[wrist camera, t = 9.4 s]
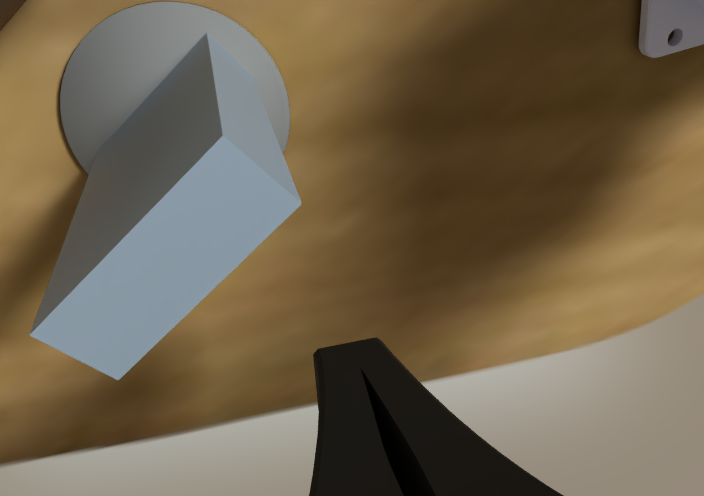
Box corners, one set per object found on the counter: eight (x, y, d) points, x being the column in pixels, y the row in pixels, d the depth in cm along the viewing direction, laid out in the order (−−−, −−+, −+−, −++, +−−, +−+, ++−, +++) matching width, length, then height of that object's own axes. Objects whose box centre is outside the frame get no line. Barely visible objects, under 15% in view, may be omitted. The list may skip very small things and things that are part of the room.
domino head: (253, 76, 15) (301, 204, 9) (146, 187, 16) (118, 380, 10) (207, 32, 15) (222, 135, 8) (97, 151, 15) (29, 335, 9)
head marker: (331, 115, 17) (332, 117, 17) (194, 250, 18) (193, 253, 18) (165, -56, 14) (164, -55, 13) (10, 121, 15) (9, 123, 15)
